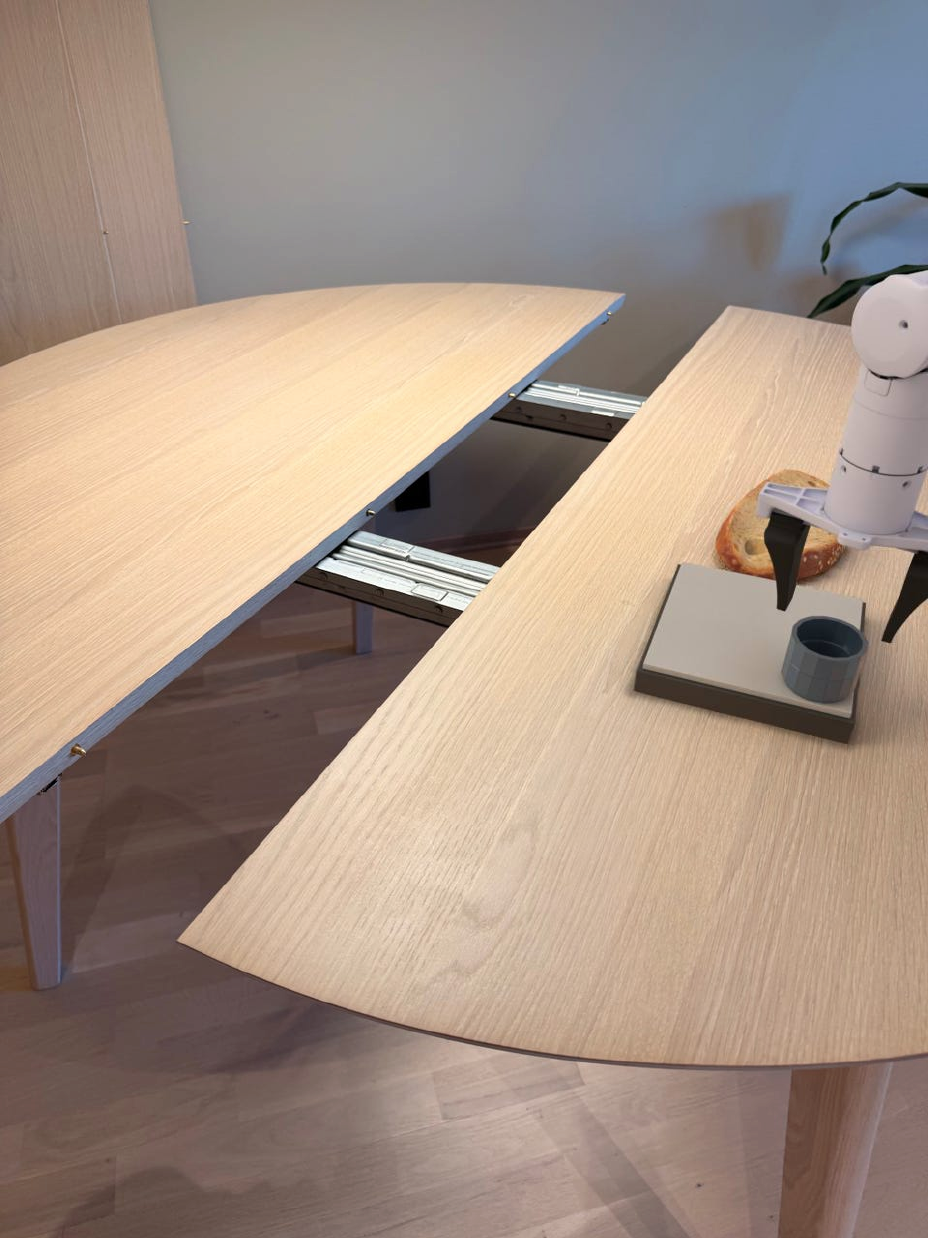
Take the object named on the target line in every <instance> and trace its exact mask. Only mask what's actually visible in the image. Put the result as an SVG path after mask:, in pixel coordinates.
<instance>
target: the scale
mask: <svg viewBox="0 0 928 1238" xmlns="http://www.w3.org/2000/svg"><path fill="white" fill-rule="evenodd" d="M866 612H867V602H864V598H861V597H857V596H853V595H847V594H842V593H837V592H832V591H829V590H822V589H818V588H814V587H808V586H803V585H798V584H796V588H795V591H794V595H793V598H792V600H791V602H790V604H789V606H788V607H787V609H786V611H785V612H784V611H781V610H778V609H777V587H776V581H774V580H770V579H765V578H760V577H755V576H750V575H745V574H740V573H735V572H732V571H731V570H725V569H720V568H715V567H710V566H706V565H701V564H695V563H692V562H686V561H682V562H681V564H680V563H678V564H677V566H676V568H675V570H674V573H673V576H672V578H671V581H670V584H669V586H668V588H667V591H666V594H665V596H664V600H663V601H662V604H661V607H660V609H659V611H658V615H657V617H656V619H655V622H654V625H653V627H652V630H651V633H650V635H649V638H648V640H647V643H646V644H645V648H644V651H643V653H642V656H641V658H640V660H639V663H638V666H637V668H636V672H635V679H634V686H633V691H635V692H638V693H642V694H646V695H649V696H654V697H658V698H662V699H666V700H671V701H674V702H678V703H682V704H685V705H690V706H694V707H698V708H702V709H706V710H709V711H714V712H717V713H722V714H726V715H730V716H734V717H738V718H743V719H746V720H750V721H754V722H758V723H762V724H766V725H771V726H775V727H778V728H783V729H787V730H791V731H793V732H794V731H795V732H799V733H802V734H807V735H811V736H815V737H819V738H822V739H825V740H831V741H835V742H839V743H843V744H847V745H848V744H849V742H850V740H851V736H852V734H853V730H854V727H855V725H856V716H857V715H856V714H857V707H858V695H859V688H860V684H861V674H862V673H861V672H862V671H861V672H860V675H859V678H858V681H857V684H856V687H855V690H854V691H853V692H852V693H851V694H850V695H849V696H848V697H846V698H845V699H843V700H841V701H839V702H835V703H817V702H812V701H809V700H806V699H804V698H801V697H800V696H798V695H796V694H795V693H793V692H792V691H791V690H790V689H789V688H788V687H787V685H786V684H785V682H784V678H783V676H782V674H781V669H782V664H783V660H784V657H785V653H786V649H787V645H788V642H789V638H790V634H791V630H792V626H793V625H794V624H795V623H796V622H798V621H799V620H800V619H803V618H806V617H810V616H828V617H833V618H837V619H841V620H843V621H845V622H848V623H850V624H852V625H854V626H855V627H856V628H858V629H859V630H860V631H861V632H863V634H864V632H865V621H866Z"/></svg>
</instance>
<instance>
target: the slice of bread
mask: <svg viewBox="0 0 928 1238" xmlns="http://www.w3.org/2000/svg"><path fill="white" fill-rule="evenodd" d="M767 482H771V483H775V484H780V485H786V486H795V487H806V488H818V489H828V488H829V484H828V483H827V482H825V481H824V480H822V479H820V478H819V477H816V476H814V475H811V474H809V473H806V472H804V471H801V470H796V469H795V470H794V469H783V470H781V471H779V472H776V473H775V474H774V473H773V474H772V475H770V476H769V477H768V478H766V479H765V480H763V481H762V482H761V483H759V484H758V485H757V486H756V487H755V488H753V489H752V490H750V492H748V493H747V494H746V495H745V496H744V497H743V498H742V499H741V500H740V501H739V502H738V503H737V504H735V506H734V507H733V508H732V509H731V511H730V512H729V514H728V515H727V516H726V518H725V519H724V521H723V523H722V524H721V526H720V529H719V531H718V533H717V535H716V539H715V550H716V552H717V555H718V556H719V558H720V559H721V562H722V563H723V564H724V566H725V567H726V568H727V569H729V571H731V572H735V573H740V574H745V575H750V576H755V577H760V578H765V579H770V580H774V581H776V578H775V573H774V568H773V564H772V561H771V558H770V555H769V552H768V550H767V548H766V546H765V544H764V531H765V529H766V528H767V526H768V523H769V520H770V518H768V519H766V518H762V517H758V516H755V512H756V507H757V502H758V498H759V493H760V491H761V490H762V489H763V487H764V486H765V484H766V483H767ZM837 538H838V536H836V535H834V534H831V533H829V532H827V531H825V530H823V529H821V528H817V527H814V526H811V527H810V530H809V533H808V536H807V540H806V543H805V546H804V550H803V553H802V557H801V561H800V567H799V572H798V578H797V579H801V578H809V577H812V576H815V575H818V574H821V573H823V572H825V571H826V570H829V569H830V568H831V567H832V565H833V564H835V563H836V562H837V561H838V559H839V558H840V557H841V556H842V555H843V553H844V551H845V550H847V546H843V545H841V544H839V543H838V542H837Z"/></svg>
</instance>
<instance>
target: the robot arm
mask: <svg viewBox="0 0 928 1238" xmlns="http://www.w3.org/2000/svg"><path fill="white" fill-rule="evenodd" d="M850 327H851V329H850V332H851V333H850V334H851V341H852V345H853V349H854V351H855V353H856V355H857V357H858V358H859V360H860V361H861V362H860V367H859V370H858V374H857V378H856V381H855V382H856V383H855V385H854V389H853V390H854V391H853V392H852V396H851V401H850V404H849V408H848V412H847V415H846V420H845V424H844V427H843V431H842V435H841V439H840V442H839V446H838V451H837V454H836V458H835V462H834V466H833V468H832V469H833V470H832V472H831V473H832V474H831V477H830V481H829V484H828V485H829V488H828V489H818V488H806V487H795V486H786V485H780V484H775V483H771V482H767V483H766V484H765V486H764V487H763V489H762V490H761V491H760V493H759V498H758V502H757V507H756V512H755V516H758V517H762V518H766V519H768V518H770V520H769V523H768V526H767V528H766V529H765V531H764V544H765V546H766V548H767V550H768V552H769V555H770V558H771V561H772V564H773V568H774V573H775V578H776V587H777V609H778V610H781V611H784V612H785V611H786V609H787V607H788V606H789V604H790V602H791V600H792V598H793V595H794V591H795V588H796V585H798V584H797V583H798V579H799V578H798V572H799V567H800V561H801V557H802V553H803V550H804V546H805V543H806V540H807V536H808V533H809V530H810V527H811V526H814V527H817V528H821V529H823V530H825V531H827V532H829V533H831V534H834V535H836V536H838V538H837V542H838V543H839V544H841V545H843V546H847V547H848V548H851V549H855V550H858V551H867V550H869V549H870V547H871V546H872V547H882V548H892V549H897V550H901V551H904V552H909V553H912V554H913V555H912V558H911V560H910V563H909V566H908V568H907V571H906V574H905V576H904V580H903V583H902V586H901V589H900V592H899V595H898V598H897V600H896V602H895V604H894V607H893V609H892V611H891V612H890V614H889V618H888V620H887V623H886V626H885V628H884V631H883V633H882V636H881V639H880V642H883V643H886V644H892V643H893V640H894V638H895V636H896V634H897V633H898V632H899V630H900V628H901V627H902V626H903V624H904V623H905V622H906V621H907V620H908V619H909V617H910V616H911V615H912V614H913V613H914V612H915V611H916V610H917V609H918V608H919V607H920V606H921V605H922V604H923V603H925V601H927V600H928V515H927V514H925V513H923V512H920V511H918V510H917V509H916V507H917V504H918V502H919V498H920V496H921V492H922V489H923V486H924V483H925V480H926V476H927V473H928V269H927V270H923V271H922V270H921V271H918V272H913V273H909V274H891V275H889V276H887V277H886V278H884V280H882V281H880V282H878V283H876V284H874V285H871V287H869V288H868V289H867V290H866V291H865V292H863V294H862V295H861V297H860V298H859V300H858V302H857V303H856V306H855V308H854V311H853V313H852V318H851V326H850ZM847 547H846V548H847Z"/></svg>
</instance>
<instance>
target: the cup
mask: <svg viewBox="0 0 928 1238" xmlns="http://www.w3.org/2000/svg"><path fill="white" fill-rule="evenodd" d="M868 651H869V640H868V639H867V637H866V636H865V634H864V633H863V632H861V631H860V630H859V629H858V628H856V627H855V626H854V625H852V624H850V623H848V622H845V621H843V620H841V619H837V618H833V617H828V616H810V617H806V618H803V619H800V620H799V621H798V622H796V623H795V624H794V625H793V626H792V630H791V634H790V638H789V642H788V645H787V649H786V653H785V657H784V660H783V664H782V669H781V674H782V676H783V678H784V682H785V684H786V685H787V687H788V688H789V689H790V690H791V691H792V692H793V693H795V694H796V695H798V696H800V697H801V698H804V699H806V700H809V701H812V702H817V703H835V702H839V701H841V700H843V699H845V698H846V697H848V696H849V695H850V694H851V693H852V692H853V691H854V690H855V687H856V684H857V681H858V678H859V675H860V676H861V673H860V672H862V669H863V666H864V662H865V661H866V657H867V653H868Z"/></svg>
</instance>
